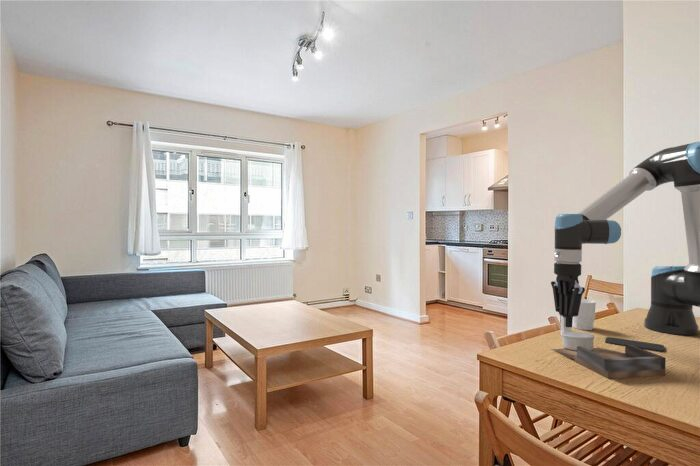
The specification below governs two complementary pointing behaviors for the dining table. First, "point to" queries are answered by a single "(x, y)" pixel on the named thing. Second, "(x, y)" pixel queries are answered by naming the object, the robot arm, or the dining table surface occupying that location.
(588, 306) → the white cup
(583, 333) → the ramekin
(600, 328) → the dining table surface
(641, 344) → the phone
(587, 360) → the dock
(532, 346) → the dining table surface
